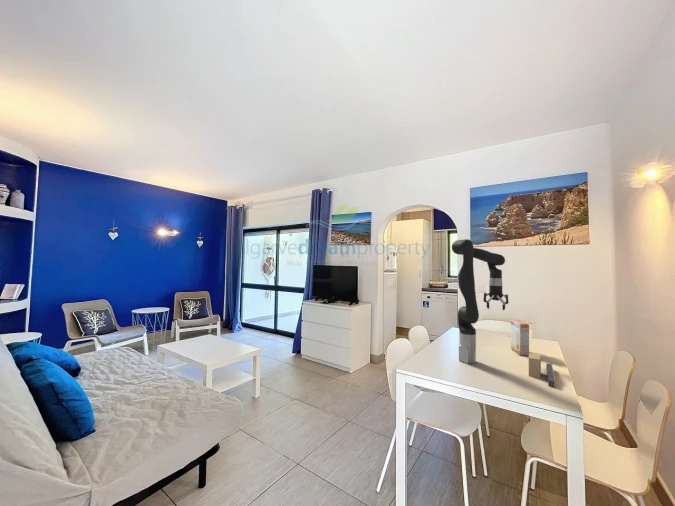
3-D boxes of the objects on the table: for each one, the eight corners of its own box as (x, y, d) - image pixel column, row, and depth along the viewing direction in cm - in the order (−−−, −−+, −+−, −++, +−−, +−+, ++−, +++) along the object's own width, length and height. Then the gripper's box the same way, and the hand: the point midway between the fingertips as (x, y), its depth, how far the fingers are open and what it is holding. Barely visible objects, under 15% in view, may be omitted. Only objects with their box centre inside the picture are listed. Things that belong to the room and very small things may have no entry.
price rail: (555, 387, 136) (555, 381, 136) (548, 386, 137) (548, 380, 137) (552, 369, 158) (552, 364, 158) (546, 368, 160) (546, 363, 160)
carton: (540, 378, 146) (540, 359, 146) (528, 376, 149) (528, 357, 149) (540, 372, 154) (540, 354, 155) (528, 370, 157) (528, 352, 158)
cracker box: (529, 356, 180) (529, 324, 181) (519, 355, 181) (519, 323, 182) (520, 349, 194) (520, 319, 194) (510, 348, 195) (510, 319, 196)
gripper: (508, 285, 182) (508, 309, 181) (484, 283, 190) (484, 307, 189) (507, 286, 175) (507, 311, 175) (482, 284, 184) (482, 309, 183)
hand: (495, 309), depth 182 cm, fingers open, 8 cm apart
